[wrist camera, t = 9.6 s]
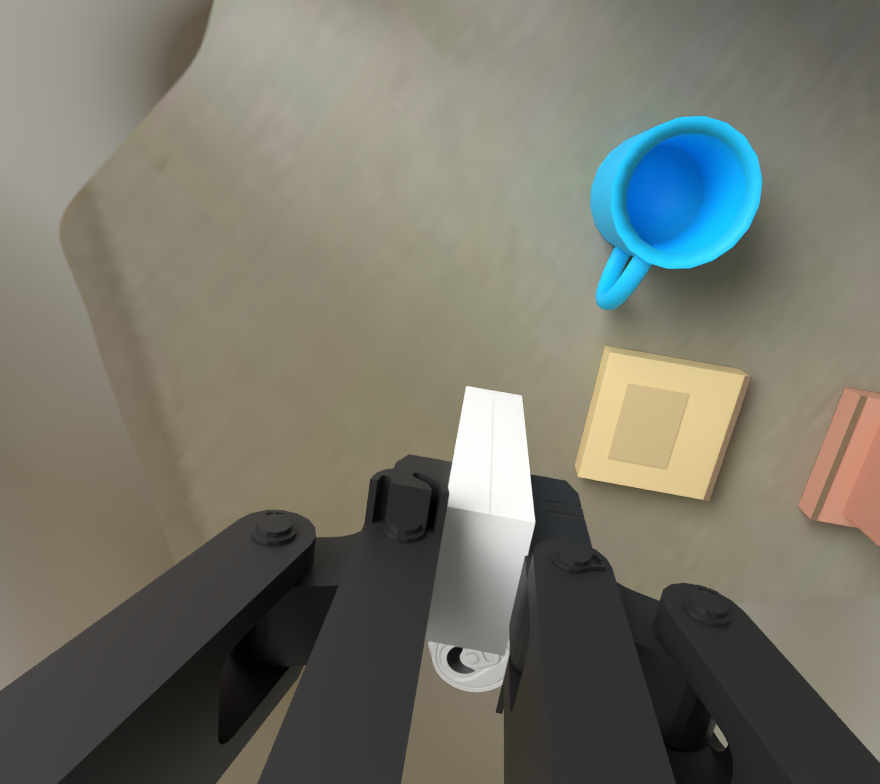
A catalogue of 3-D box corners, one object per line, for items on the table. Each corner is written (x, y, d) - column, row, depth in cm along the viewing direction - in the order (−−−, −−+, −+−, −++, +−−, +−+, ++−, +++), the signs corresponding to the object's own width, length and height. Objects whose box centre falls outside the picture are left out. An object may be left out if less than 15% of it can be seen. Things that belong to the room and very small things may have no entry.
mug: (628, 109, 40) (659, 88, 32) (736, 164, 40) (793, 156, 32) (543, 274, 44) (552, 291, 36) (642, 323, 44) (673, 350, 36)
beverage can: (430, 536, 51) (410, 633, 40) (501, 515, 50) (502, 609, 38) (457, 597, 53) (446, 706, 41) (527, 577, 51) (534, 685, 40)
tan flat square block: (605, 345, 45) (610, 352, 43) (739, 368, 44) (751, 377, 42) (575, 465, 48) (578, 477, 46) (700, 488, 47) (709, 501, 45)
